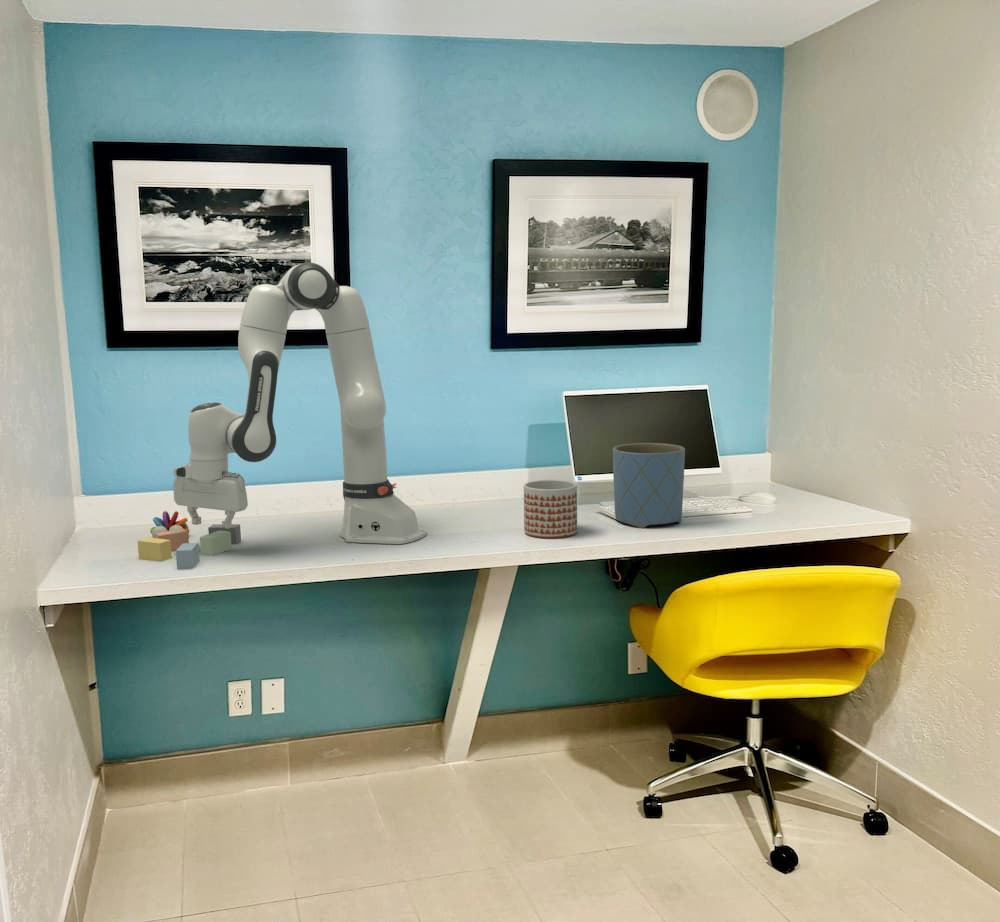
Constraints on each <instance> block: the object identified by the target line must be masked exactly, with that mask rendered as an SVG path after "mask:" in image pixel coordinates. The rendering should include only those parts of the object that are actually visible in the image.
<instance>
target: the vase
mask: <svg viewBox="0 0 1000 922" xmlns="http://www.w3.org/2000/svg"><path fill="white" fill-rule="evenodd" d="M523 525H524V526H523V528H524V531H523V532H524V533H525V535H527V536H529V537H531V538H532V537H533V538H537V539H546V540H547V539H553V540H554V539H563V538H568V537H571V536H574V535H576V534H577V533H578V484H577V483H576V482H573V481H570V480H565V479H539V480H537V479H536V480H532V481H528V482H526V483H524V484H523Z"/></svg>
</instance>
